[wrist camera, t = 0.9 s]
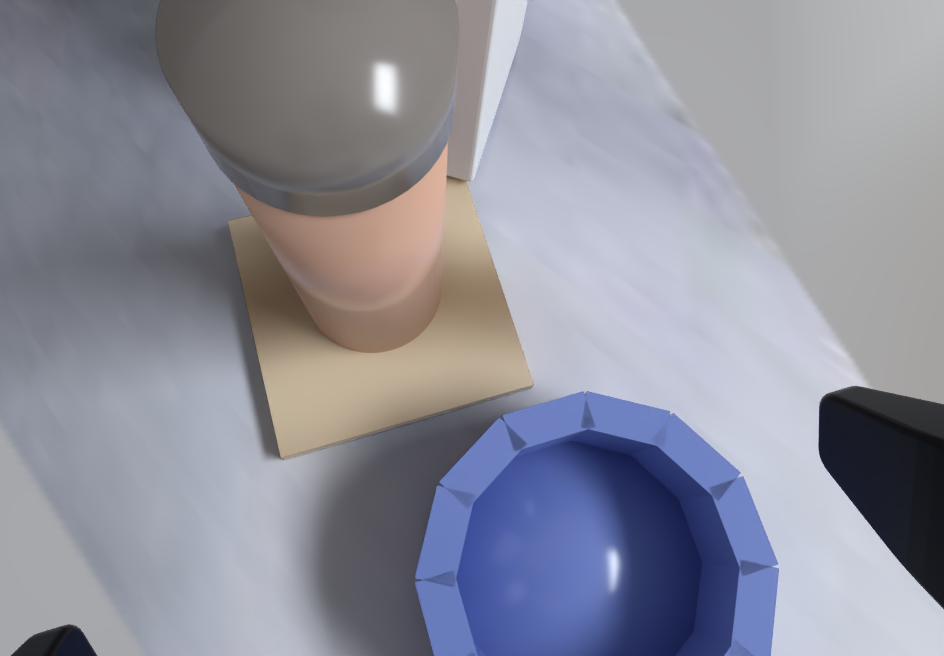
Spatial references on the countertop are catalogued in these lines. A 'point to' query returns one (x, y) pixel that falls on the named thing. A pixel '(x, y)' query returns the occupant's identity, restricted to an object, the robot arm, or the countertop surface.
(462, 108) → the milk carton
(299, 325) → the cork mat
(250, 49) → the spice jar
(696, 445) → the bowl
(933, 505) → the robot arm
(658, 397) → the countertop surface
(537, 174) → the countertop surface
